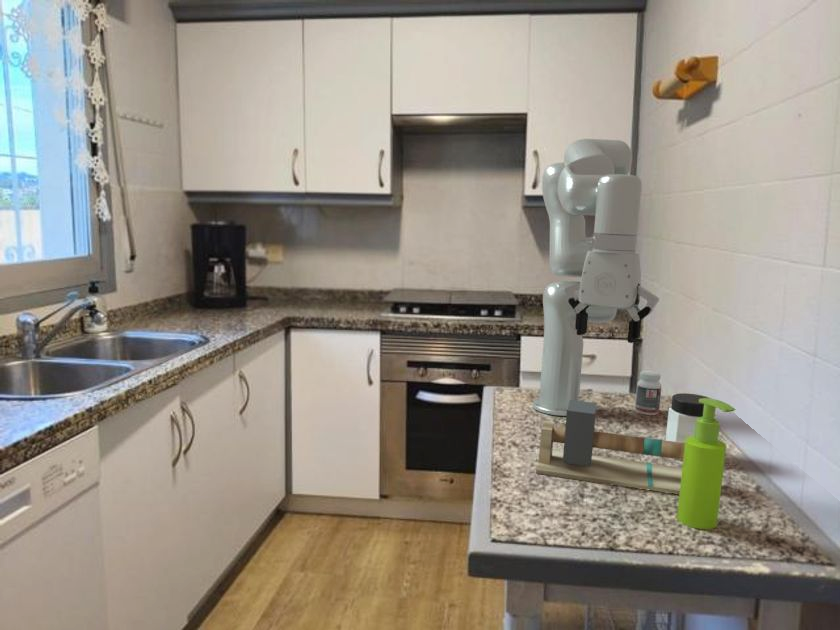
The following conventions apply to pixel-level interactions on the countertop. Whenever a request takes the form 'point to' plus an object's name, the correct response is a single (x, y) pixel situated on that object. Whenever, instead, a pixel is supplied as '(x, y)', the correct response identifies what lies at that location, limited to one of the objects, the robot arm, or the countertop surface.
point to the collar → (579, 433)
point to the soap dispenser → (703, 470)
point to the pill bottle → (648, 393)
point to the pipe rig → (614, 461)
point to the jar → (683, 416)
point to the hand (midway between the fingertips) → (606, 337)
